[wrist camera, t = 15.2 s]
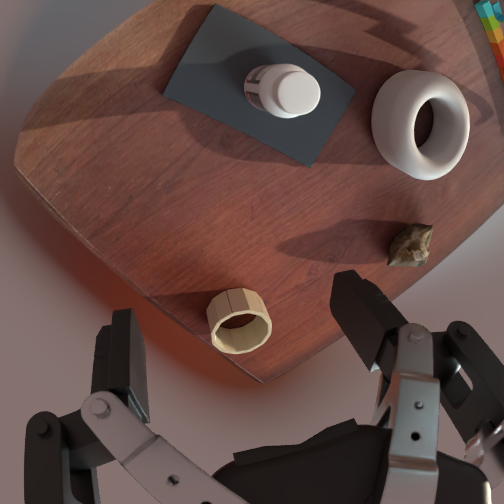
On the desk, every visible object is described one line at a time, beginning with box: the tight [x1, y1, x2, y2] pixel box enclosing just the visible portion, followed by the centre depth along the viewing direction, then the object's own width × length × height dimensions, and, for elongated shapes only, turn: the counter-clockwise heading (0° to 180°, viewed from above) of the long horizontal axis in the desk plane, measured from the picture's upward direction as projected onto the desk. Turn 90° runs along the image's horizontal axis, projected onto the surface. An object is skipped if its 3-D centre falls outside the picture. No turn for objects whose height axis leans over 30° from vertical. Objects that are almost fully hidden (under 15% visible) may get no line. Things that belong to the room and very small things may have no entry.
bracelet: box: [206, 288, 272, 354], centre depth 47 cm, size 9×9×5 cm
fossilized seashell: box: [387, 224, 433, 267], centre depth 48 cm, size 8×7×10 cm
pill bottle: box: [244, 64, 320, 118], centre depth 28 cm, size 5×5×10 cm
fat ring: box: [371, 70, 470, 180], centre depth 36 cm, size 15×15×7 cm
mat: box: [162, 4, 357, 168], centre depth 33 cm, size 20×12×1 cm, turn 60°
